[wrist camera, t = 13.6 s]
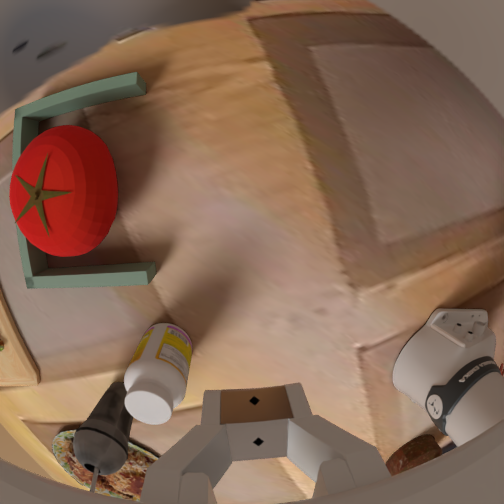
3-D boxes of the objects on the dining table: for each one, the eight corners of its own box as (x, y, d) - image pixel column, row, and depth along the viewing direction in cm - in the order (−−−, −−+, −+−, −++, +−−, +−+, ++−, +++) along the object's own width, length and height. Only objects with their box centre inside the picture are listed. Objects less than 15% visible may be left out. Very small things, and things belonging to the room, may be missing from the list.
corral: (146, 83, 28) (136, 71, 24) (156, 273, 33) (148, 284, 29) (31, 114, 27) (15, 109, 23) (42, 279, 32) (27, 288, 28)
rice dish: (168, 432, 41) (163, 454, 35) (190, 505, 45) (188, 522, 40) (37, 408, 38) (26, 424, 33) (82, 486, 43) (76, 500, 38)
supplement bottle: (148, 363, 36) (123, 428, 23) (139, 320, 34) (105, 379, 22) (196, 364, 36) (186, 433, 24) (190, 320, 35) (175, 383, 22)
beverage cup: (94, 375, 36) (39, 471, 16) (136, 373, 36) (92, 484, 17) (112, 410, 37) (74, 506, 18) (152, 410, 38) (125, 516, 18)
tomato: (36, 154, 29) (-14, 149, 19) (117, 117, 29) (78, 93, 19) (59, 258, 32) (13, 281, 22) (143, 231, 32) (110, 250, 22)
